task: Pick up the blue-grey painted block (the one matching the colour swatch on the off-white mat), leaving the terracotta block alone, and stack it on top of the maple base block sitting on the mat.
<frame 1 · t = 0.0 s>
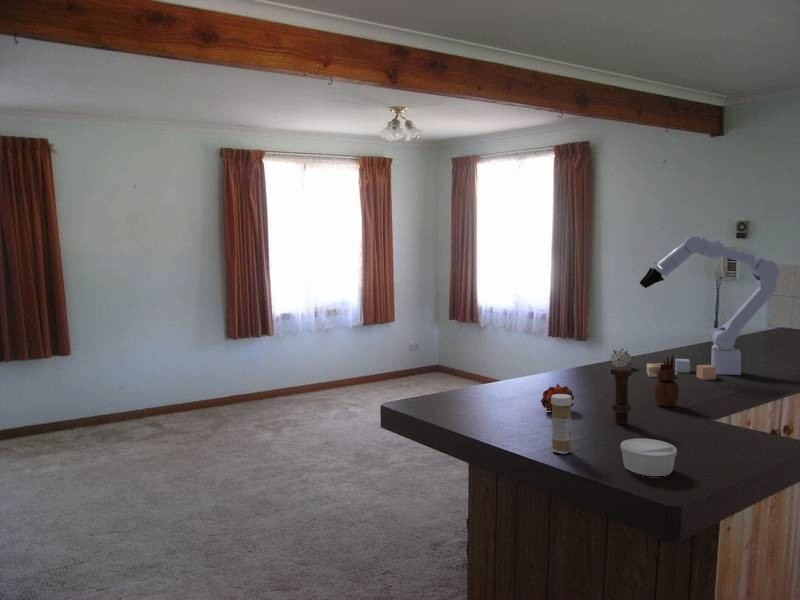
hand: (642, 285, 233), 32 cm above the table, tool tilted 50°, fingers open, 7 cm apart
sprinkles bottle: (561, 453, 146), on the table
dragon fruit: (556, 412, 181), on the table
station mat: (661, 377, 224), on the table
terracotta block: (705, 380, 217), on the table
ramekin: (648, 471, 133), on the table
wooden figurine: (666, 406, 185), on the table
maple base block: (658, 374, 224), point 1 cm above the table, touching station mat
blue-grey block: (682, 373, 230), on the table
bolt: (621, 424, 167), on the table
game die: (621, 370, 238), on the table
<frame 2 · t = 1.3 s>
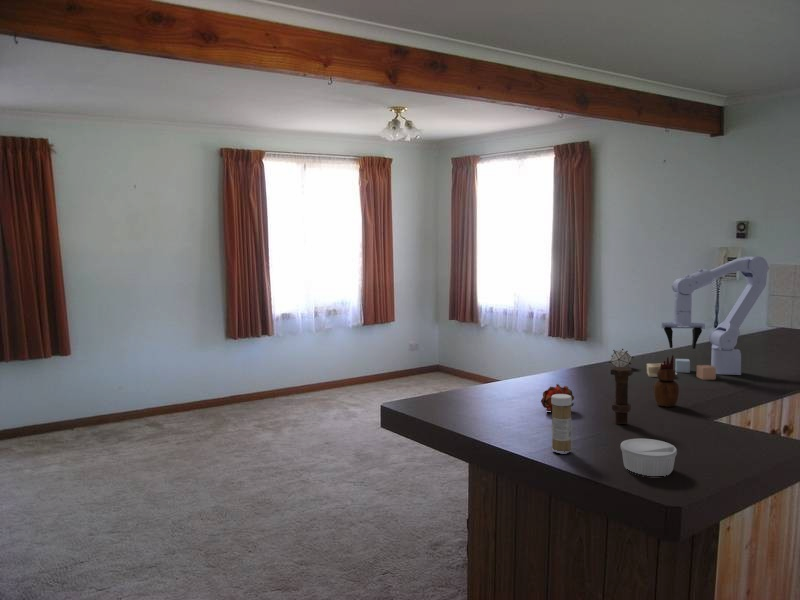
hand: (682, 347, 229), 9 cm above the table, tool pointing down, fingers open, 7 cm apart
nothing on the table moved.
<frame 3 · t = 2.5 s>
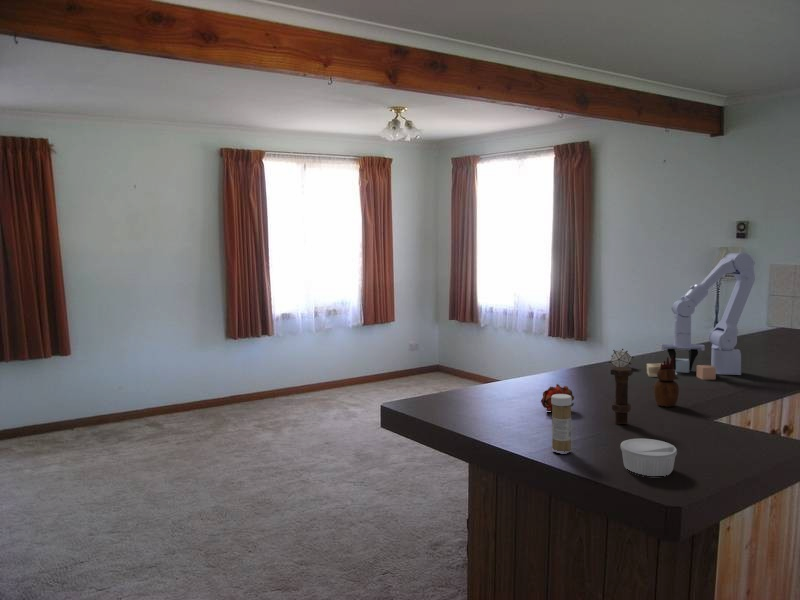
hand: (682, 369, 229), 1 cm above the table, tool pointing down, fingers closed on blue-grey block, 5 cm apart
blue-grey block: (681, 373, 230), on the table, touching gripper
everything else where it was.
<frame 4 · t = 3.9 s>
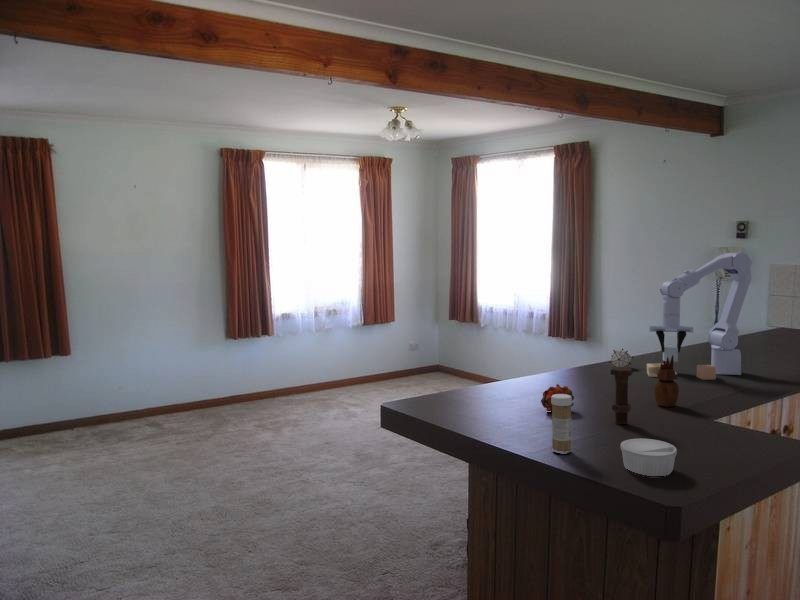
hand: (670, 351, 226), 9 cm above the table, tool pointing down, fingers closed on blue-grey block, 4 cm apart
blue-grey block: (670, 360, 227), point 5 cm above the table, touching gripper
everything else where it was.
when the fingers open (6 cm above the table, at t = 5.0 s): blue-grey block stays where it is, resting on maple base block.
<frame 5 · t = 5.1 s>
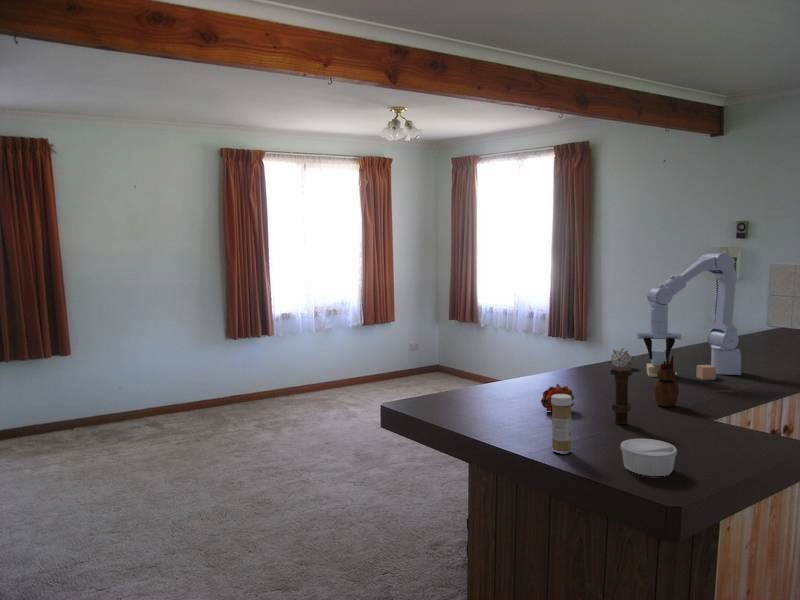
hand: (658, 359, 224), 6 cm above the table, tool pointing down, fingers open, 5 cm apart
maple base block: (658, 374, 224), point 1 cm above the table, touching blue-grey block, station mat
blue-grey block: (658, 364, 225), point 4 cm above the table, touching maple base block
everything else where it was.
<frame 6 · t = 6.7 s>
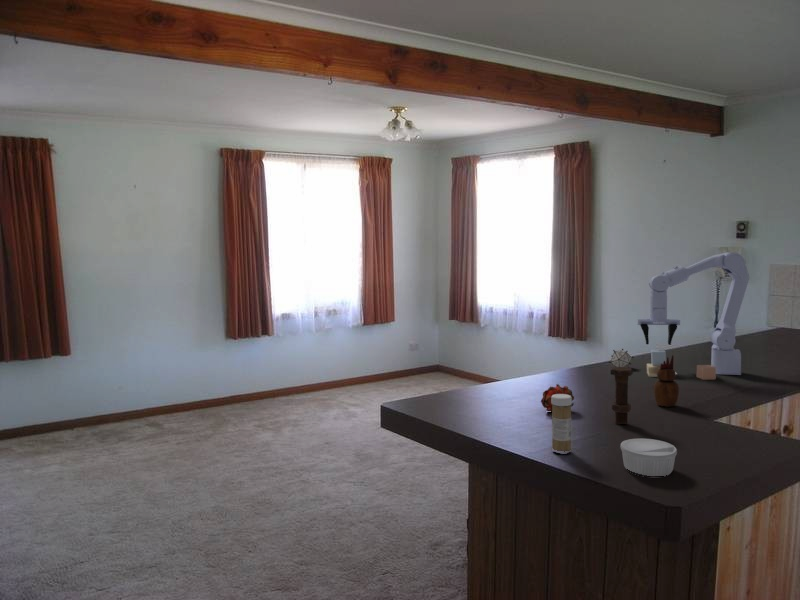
hand: (658, 344, 232), 10 cm above the table, tool pointing down, fingers open, 7 cm apart
nothing on the table moved.
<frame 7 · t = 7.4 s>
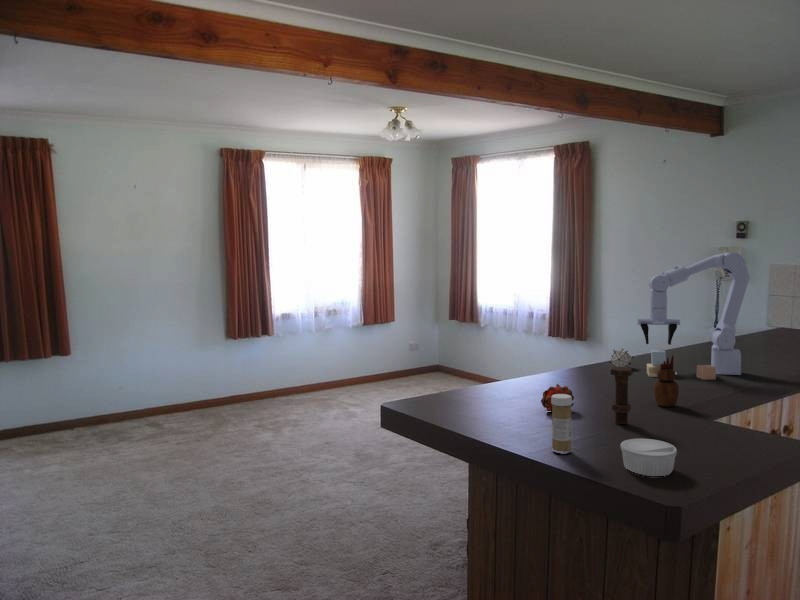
hand: (658, 344, 233), 10 cm above the table, tool pointing down, fingers open, 7 cm apart
nothing on the table moved.
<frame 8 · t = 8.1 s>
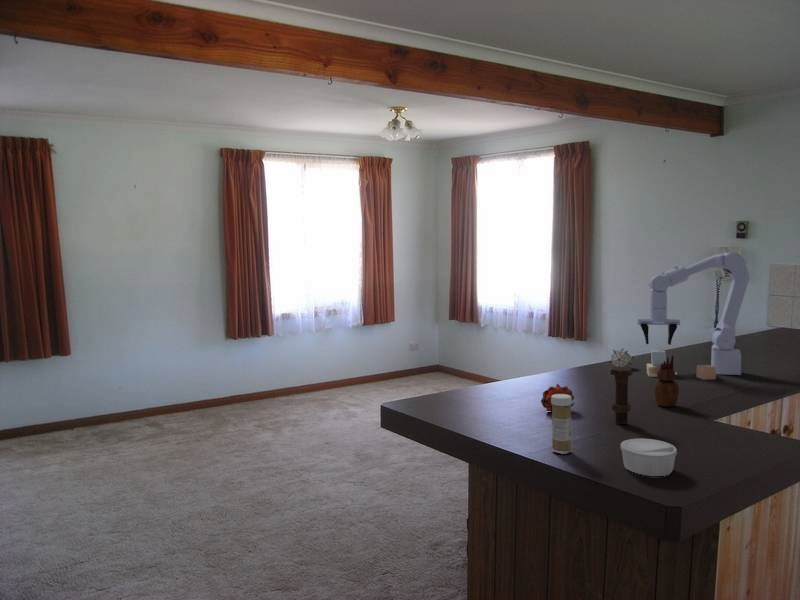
hand: (658, 344, 233), 10 cm above the table, tool pointing down, fingers open, 7 cm apart
nothing on the table moved.
at the end: blue-grey block 1.2 cm off-centre on the maple base block, point 3.5 cm above the maple base block's base; blue-grey block tilted 3°; terracotta block moved 0.1 cm from its start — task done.
